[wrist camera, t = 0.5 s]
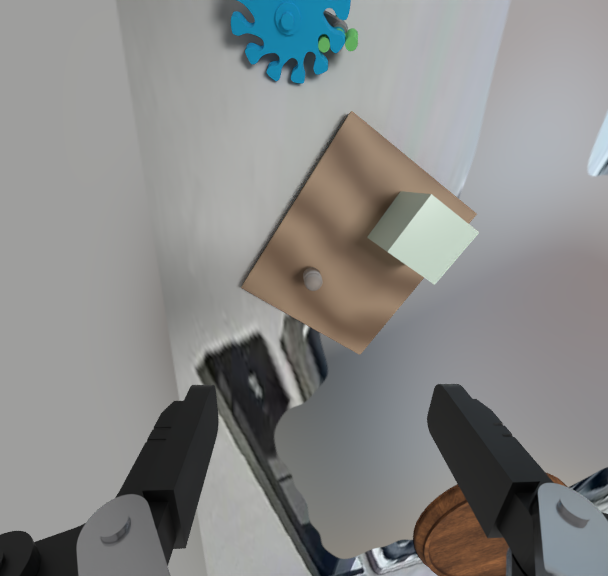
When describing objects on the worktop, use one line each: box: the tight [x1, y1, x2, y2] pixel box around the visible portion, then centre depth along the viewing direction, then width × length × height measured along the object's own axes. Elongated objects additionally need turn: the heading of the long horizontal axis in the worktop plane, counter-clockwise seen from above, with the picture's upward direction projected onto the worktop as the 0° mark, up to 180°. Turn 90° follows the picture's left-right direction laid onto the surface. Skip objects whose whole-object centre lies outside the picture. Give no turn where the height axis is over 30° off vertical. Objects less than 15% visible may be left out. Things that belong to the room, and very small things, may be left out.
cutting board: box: [413, 472, 567, 576], centre depth 55 cm, size 32×32×2 cm
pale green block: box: [367, 191, 479, 284], centre depth 29 cm, size 6×6×7 cm
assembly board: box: [241, 111, 476, 354], centre depth 32 cm, size 22×18×6 cm
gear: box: [231, 0, 358, 83], centre depth 24 cm, size 11×6×10 cm
